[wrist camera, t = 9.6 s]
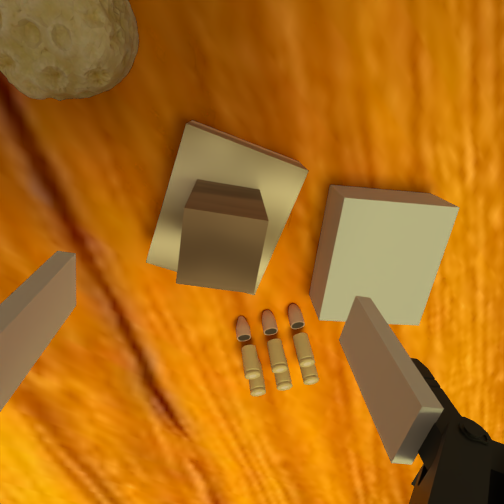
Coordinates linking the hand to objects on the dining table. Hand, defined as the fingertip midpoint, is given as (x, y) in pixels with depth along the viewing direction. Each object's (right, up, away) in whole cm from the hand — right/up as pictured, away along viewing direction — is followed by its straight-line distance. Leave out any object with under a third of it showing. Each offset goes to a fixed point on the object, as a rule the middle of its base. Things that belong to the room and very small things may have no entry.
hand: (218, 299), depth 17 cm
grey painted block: (+13, +3, +20) cm, 24 cm away
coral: (-12, +19, +11) cm, 25 cm away
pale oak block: (-1, +7, +17) cm, 18 cm away
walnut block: (-1, +5, +12) cm, 13 cm away
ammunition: (+4, -7, +24) cm, 25 cm away
